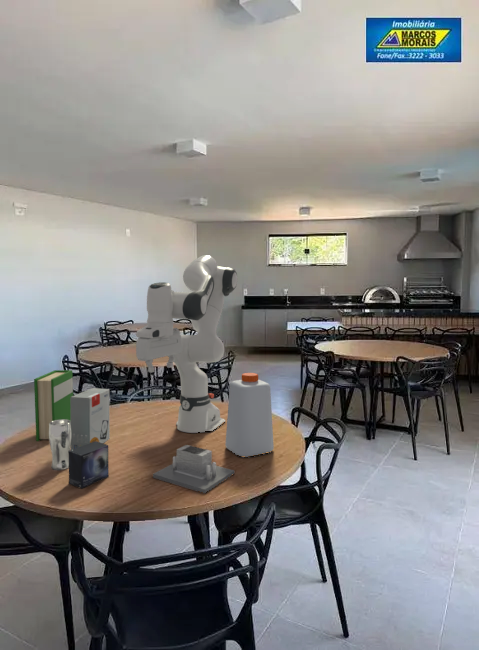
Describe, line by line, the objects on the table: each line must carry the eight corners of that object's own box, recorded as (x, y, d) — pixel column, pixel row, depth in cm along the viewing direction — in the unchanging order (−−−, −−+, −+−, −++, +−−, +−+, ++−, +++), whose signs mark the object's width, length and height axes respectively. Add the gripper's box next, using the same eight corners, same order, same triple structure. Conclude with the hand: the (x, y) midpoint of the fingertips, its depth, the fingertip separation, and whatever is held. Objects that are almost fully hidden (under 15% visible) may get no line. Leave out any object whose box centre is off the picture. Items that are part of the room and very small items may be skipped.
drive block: (186, 465, 148) (186, 444, 148) (211, 472, 143) (211, 450, 142) (176, 470, 144) (176, 449, 144) (202, 478, 139) (202, 455, 138)
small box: (82, 489, 134) (81, 455, 133) (67, 484, 137) (66, 450, 136) (110, 476, 143) (109, 444, 142) (95, 472, 146) (95, 440, 145)
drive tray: (185, 460, 156) (185, 446, 155) (234, 474, 145) (234, 458, 145) (152, 477, 142) (152, 461, 142) (204, 493, 132) (204, 476, 131)
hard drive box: (89, 453, 162) (88, 398, 160) (70, 451, 163) (68, 397, 162) (110, 438, 177) (109, 388, 175) (92, 437, 179) (91, 387, 177)
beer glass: (77, 464, 152) (75, 420, 151) (62, 472, 146) (61, 426, 144) (60, 461, 154) (58, 418, 153) (45, 469, 148) (43, 424, 146)
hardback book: (55, 441, 174) (53, 379, 172) (36, 441, 174) (34, 379, 172) (73, 426, 191) (72, 370, 189) (56, 426, 192) (54, 370, 189)
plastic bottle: (278, 452, 164) (279, 376, 161) (241, 460, 156) (242, 380, 154) (256, 440, 177) (257, 368, 174) (221, 446, 170) (221, 372, 167)
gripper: (172, 326, 167) (173, 363, 169) (132, 332, 150) (133, 373, 151) (186, 327, 164) (186, 365, 166) (146, 333, 147) (147, 376, 148)
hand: (161, 369), depth 158 cm, fingers open, 8 cm apart
